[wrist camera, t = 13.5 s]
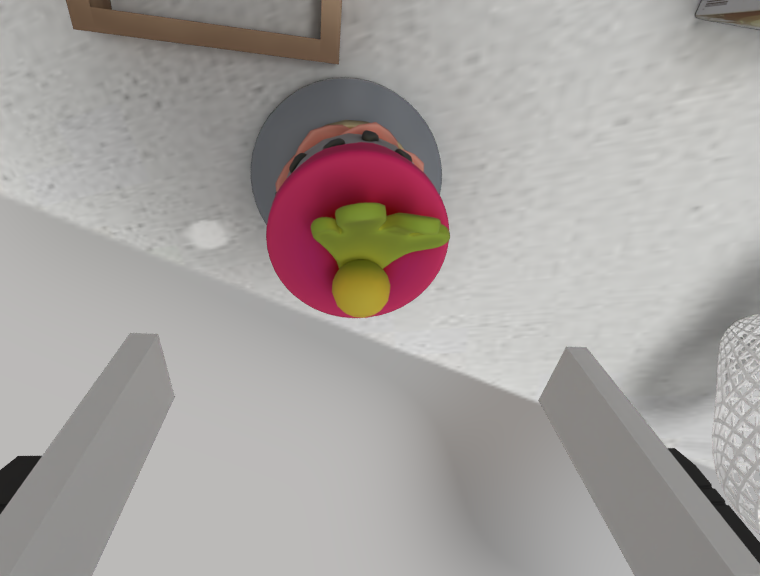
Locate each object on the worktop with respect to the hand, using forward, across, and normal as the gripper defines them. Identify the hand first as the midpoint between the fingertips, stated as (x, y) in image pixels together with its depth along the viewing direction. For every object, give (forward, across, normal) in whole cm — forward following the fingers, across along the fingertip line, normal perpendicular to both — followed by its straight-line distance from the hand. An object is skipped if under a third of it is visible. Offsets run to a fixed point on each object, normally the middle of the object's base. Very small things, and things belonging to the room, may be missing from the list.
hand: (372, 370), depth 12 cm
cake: (+21, 0, 0) cm, 21 cm away
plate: (+22, 0, -1) cm, 22 cm away
